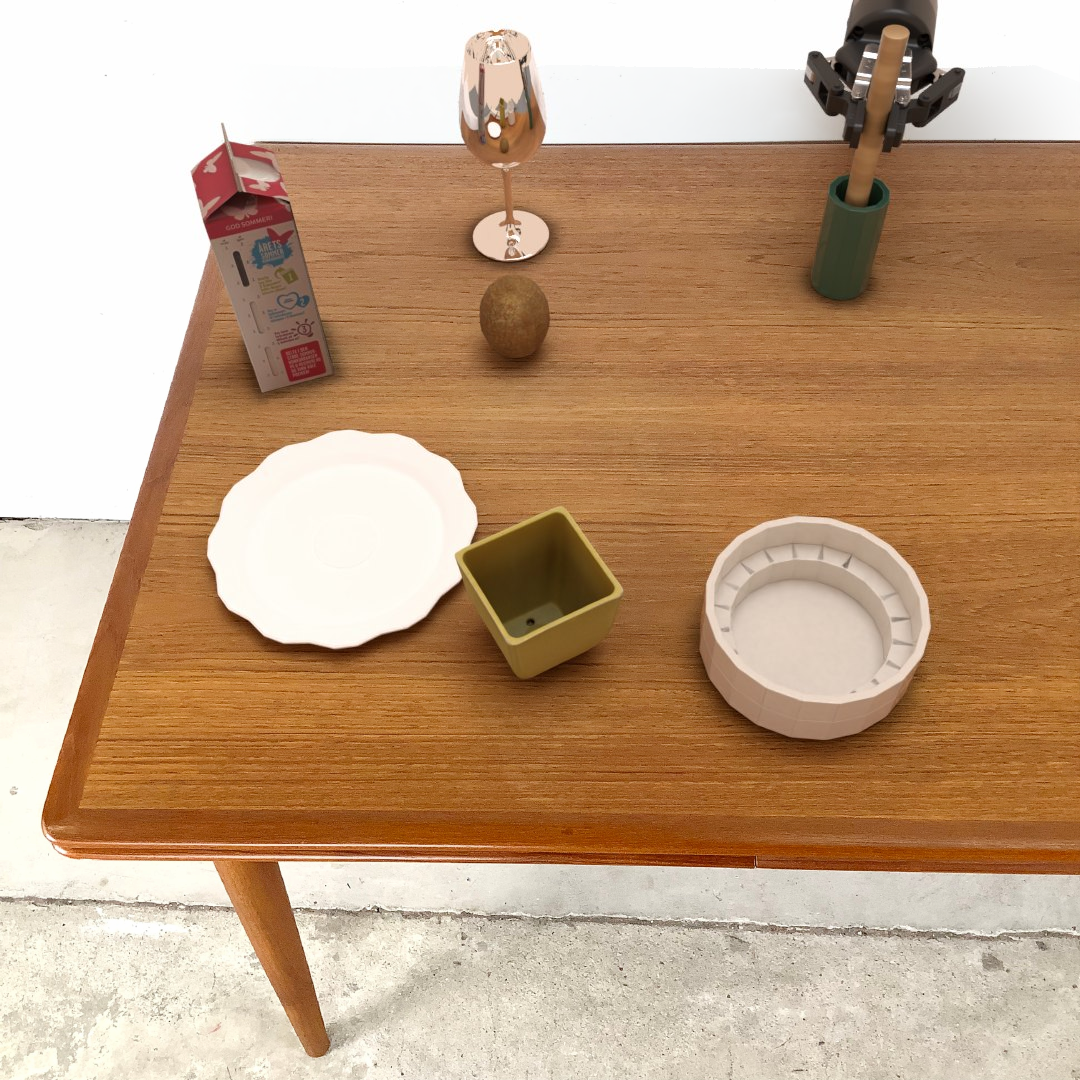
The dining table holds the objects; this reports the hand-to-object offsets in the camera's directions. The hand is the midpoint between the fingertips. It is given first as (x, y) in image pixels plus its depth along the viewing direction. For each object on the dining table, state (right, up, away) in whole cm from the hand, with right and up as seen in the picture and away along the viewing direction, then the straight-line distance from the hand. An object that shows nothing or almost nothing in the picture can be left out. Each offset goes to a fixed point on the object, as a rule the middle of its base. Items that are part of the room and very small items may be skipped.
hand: (872, 140), depth 90 cm
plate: (-42, -32, 0) cm, 53 cm away
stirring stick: (+1, -7, +15) cm, 17 cm away
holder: (+1, -8, +15) cm, 17 cm away
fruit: (-29, -15, +12) cm, 34 cm away
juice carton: (-49, -15, +12) cm, 53 cm away
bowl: (-7, -40, -7) cm, 41 cm away
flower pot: (-26, -39, -6) cm, 48 cm away
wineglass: (-29, -2, +21) cm, 36 cm away
